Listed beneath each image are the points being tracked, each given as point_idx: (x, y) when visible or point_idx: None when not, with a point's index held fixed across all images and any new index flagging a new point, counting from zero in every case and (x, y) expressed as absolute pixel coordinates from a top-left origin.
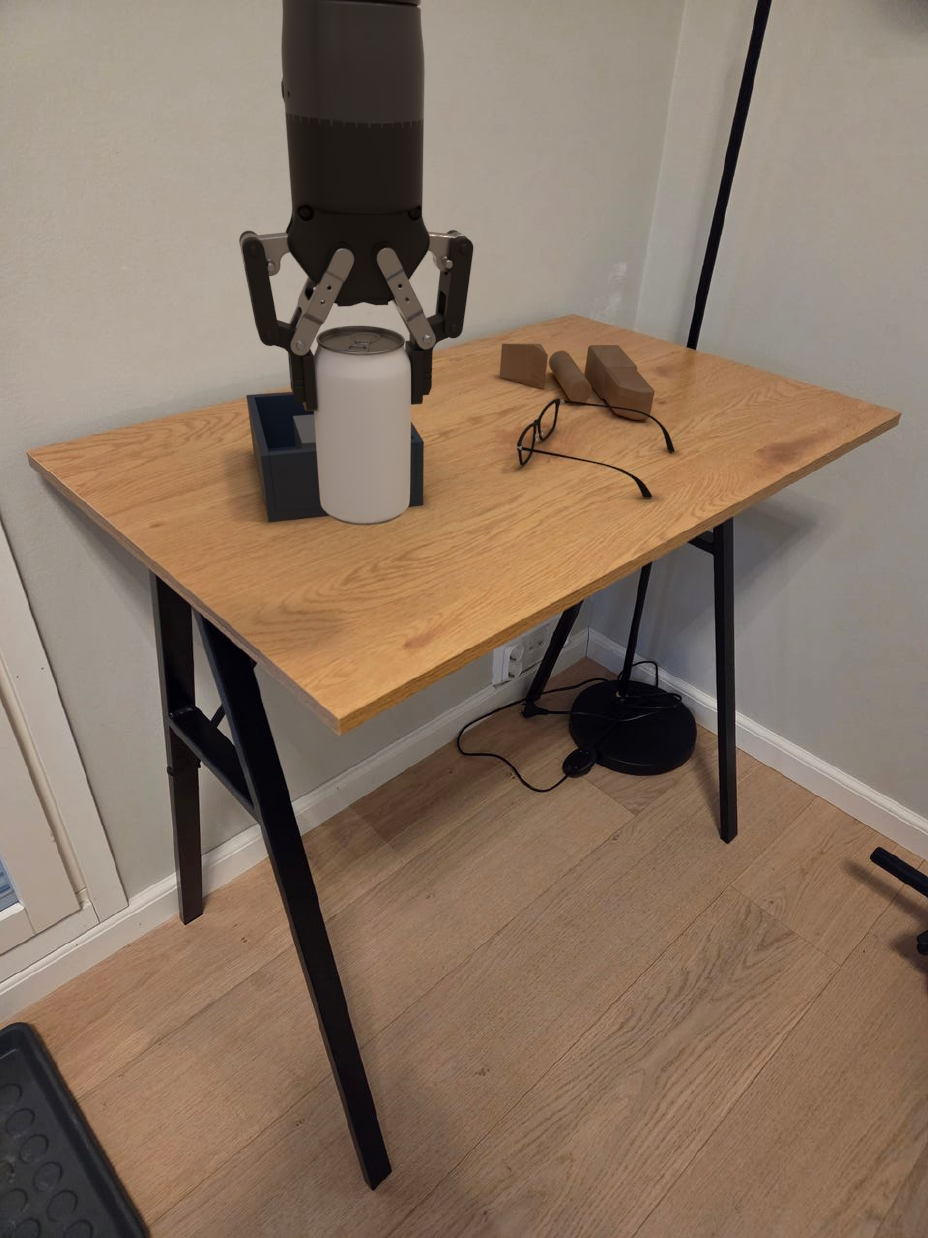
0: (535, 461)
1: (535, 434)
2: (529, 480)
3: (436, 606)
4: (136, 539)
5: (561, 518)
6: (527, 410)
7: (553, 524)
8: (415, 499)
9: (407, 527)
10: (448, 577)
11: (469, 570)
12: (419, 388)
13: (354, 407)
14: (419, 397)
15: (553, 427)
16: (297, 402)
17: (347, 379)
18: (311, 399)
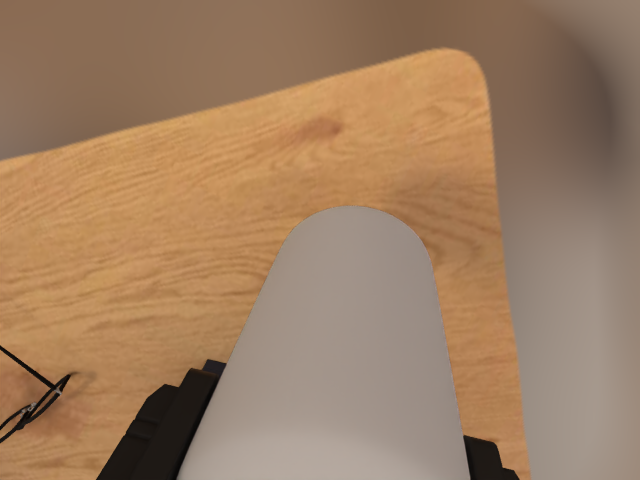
0: (51, 377)
1: (31, 410)
2: (70, 349)
3: (270, 183)
4: (522, 429)
5: (58, 271)
6: (28, 457)
7: (71, 265)
8: (213, 367)
9: (241, 331)
10: (233, 228)
11: (204, 229)
12: (183, 400)
13: (407, 382)
14: (193, 380)
15: (8, 419)
16: (513, 471)
17: (428, 469)
18: (488, 463)
